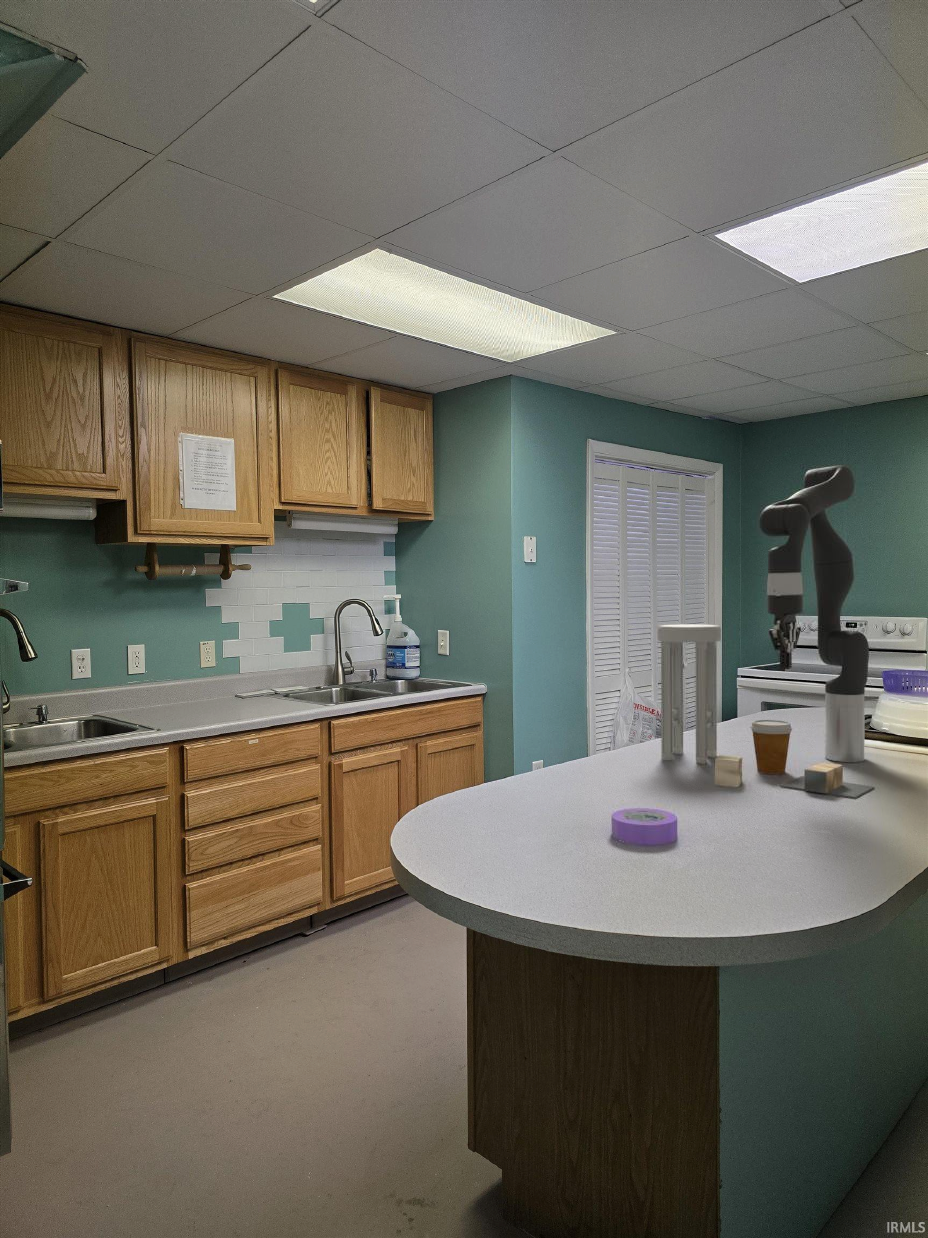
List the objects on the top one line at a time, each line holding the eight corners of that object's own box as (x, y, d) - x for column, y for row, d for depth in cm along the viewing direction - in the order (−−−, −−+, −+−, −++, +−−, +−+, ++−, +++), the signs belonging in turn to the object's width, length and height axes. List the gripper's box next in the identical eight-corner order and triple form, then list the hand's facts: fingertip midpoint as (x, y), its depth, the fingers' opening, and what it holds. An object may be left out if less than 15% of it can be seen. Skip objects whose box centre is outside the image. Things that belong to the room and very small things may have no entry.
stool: (726, 755, 218) (726, 624, 217) (710, 766, 205) (710, 627, 204) (669, 750, 226) (669, 624, 225) (651, 760, 213) (650, 626, 212)
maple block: (719, 780, 190) (719, 754, 190) (742, 782, 188) (742, 756, 188) (715, 785, 186) (715, 758, 186) (738, 787, 183) (737, 760, 183)
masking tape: (599, 831, 152) (599, 811, 152) (653, 824, 156) (653, 804, 156) (634, 850, 141) (634, 828, 141) (690, 842, 145) (690, 820, 145)
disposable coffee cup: (785, 767, 203) (785, 719, 202) (797, 776, 193) (797, 725, 193) (746, 767, 204) (746, 719, 203) (756, 775, 194) (755, 725, 194)
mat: (801, 777, 192) (801, 775, 192) (874, 788, 180) (874, 786, 180) (780, 786, 183) (780, 785, 183) (855, 798, 172) (855, 796, 172)
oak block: (804, 789, 178) (822, 781, 186) (825, 793, 175) (842, 784, 182) (804, 769, 178) (822, 762, 185) (825, 772, 175) (842, 765, 182)
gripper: (780, 592, 193) (780, 665, 194) (756, 594, 184) (757, 670, 184) (812, 592, 188) (813, 667, 189) (790, 593, 178) (790, 672, 179)
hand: (785, 668), depth 187 cm, fingers closed
